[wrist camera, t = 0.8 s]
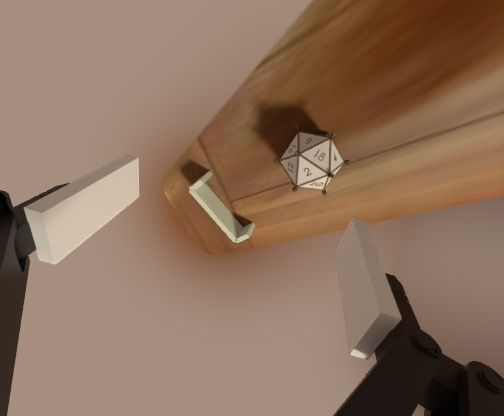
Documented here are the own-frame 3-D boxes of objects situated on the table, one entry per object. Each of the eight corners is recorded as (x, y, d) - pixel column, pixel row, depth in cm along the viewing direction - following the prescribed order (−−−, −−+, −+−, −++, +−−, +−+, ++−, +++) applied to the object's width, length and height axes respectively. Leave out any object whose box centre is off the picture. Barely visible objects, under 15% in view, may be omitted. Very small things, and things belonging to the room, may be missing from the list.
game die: (330, 137, 39) (379, 162, 31) (297, 184, 41) (334, 218, 33) (288, 105, 34) (333, 125, 26) (253, 160, 36) (284, 194, 28)
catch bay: (209, 170, 44) (200, 179, 41) (255, 225, 47) (249, 237, 45) (197, 180, 46) (187, 189, 43) (241, 232, 49) (235, 243, 47)
